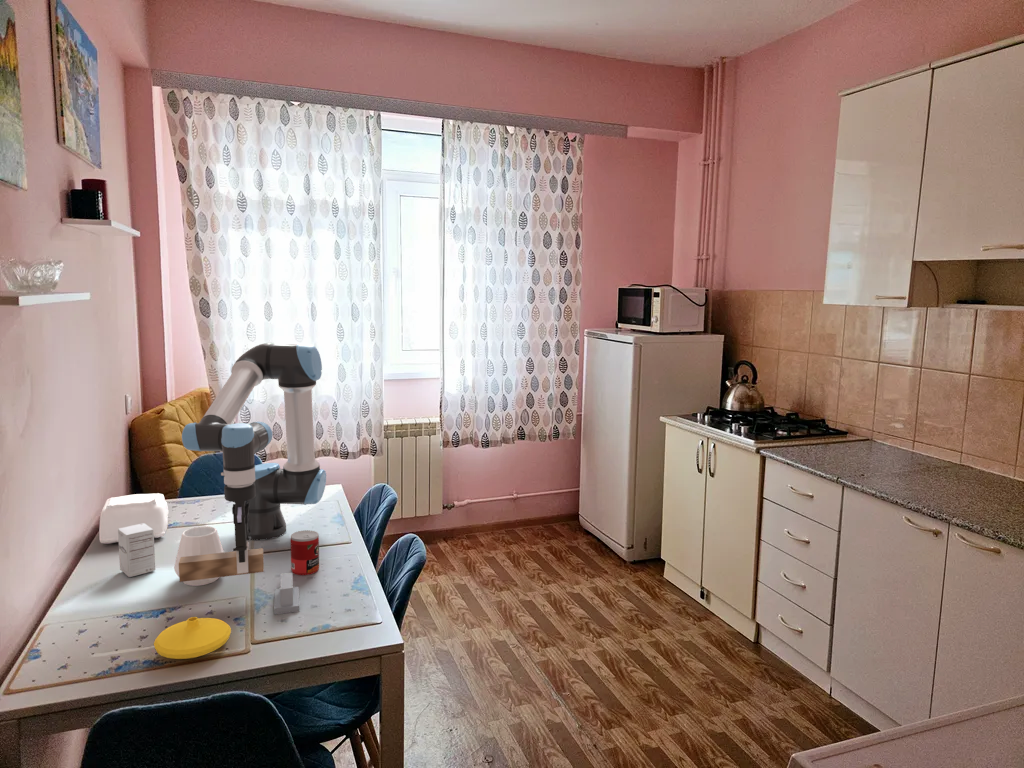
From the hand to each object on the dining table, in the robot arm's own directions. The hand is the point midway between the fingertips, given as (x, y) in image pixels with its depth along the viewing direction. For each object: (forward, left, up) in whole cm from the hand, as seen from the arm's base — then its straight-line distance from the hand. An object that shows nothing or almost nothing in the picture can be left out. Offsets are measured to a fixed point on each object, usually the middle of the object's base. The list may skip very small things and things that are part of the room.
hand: (243, 568), depth 175 cm
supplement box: (-26, -30, -8) cm, 41 cm away
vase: (+25, -9, -8) cm, 27 cm away
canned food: (-13, +16, -8) cm, 22 cm away
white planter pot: (-15, -12, -8) cm, 21 cm away
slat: (0, -5, -1) cm, 5 cm away
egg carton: (-65, -38, -8) cm, 76 cm away
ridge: (+7, +11, -8) cm, 15 cm away
